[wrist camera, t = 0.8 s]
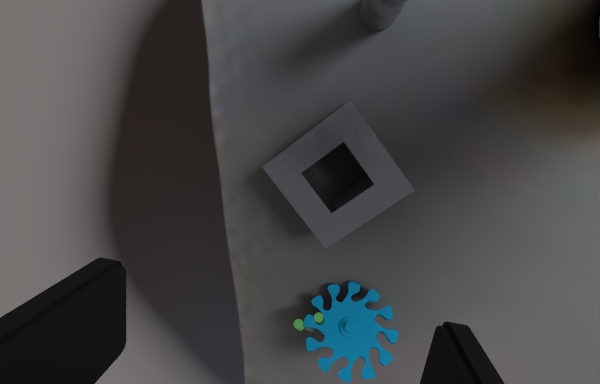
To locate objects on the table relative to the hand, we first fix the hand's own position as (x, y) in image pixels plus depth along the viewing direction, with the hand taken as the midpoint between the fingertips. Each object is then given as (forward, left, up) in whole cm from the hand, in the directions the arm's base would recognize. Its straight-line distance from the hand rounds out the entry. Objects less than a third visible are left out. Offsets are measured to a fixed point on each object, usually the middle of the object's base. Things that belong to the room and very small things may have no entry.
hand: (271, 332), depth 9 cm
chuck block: (-2, +1, -26) cm, 26 cm away
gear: (+7, +15, -26) cm, 31 cm away
